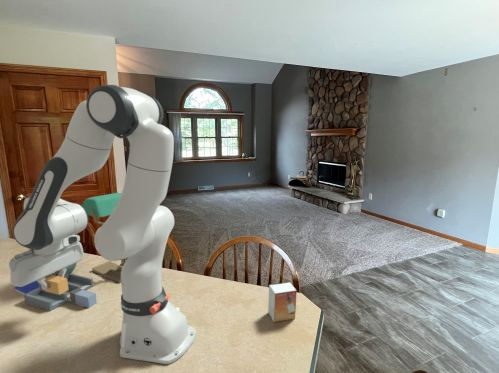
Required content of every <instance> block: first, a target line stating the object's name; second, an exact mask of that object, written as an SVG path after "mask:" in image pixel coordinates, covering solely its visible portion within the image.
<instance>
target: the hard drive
mask: <svg viewBox="0 0 499 373" xmlns="http://www.w3.org/2000/svg"><path fill="white" fill-rule="evenodd" d="M37 288H39V283H38V282H37V281H34V282H32V283H30V284H27V285H25V286H23V287H18V286H15V287H14V288H13V290H14V291H15V292H18V293H20V294H22V295H25V294H27V293H29V292H31V291H33V290H35V289H37Z"/></svg>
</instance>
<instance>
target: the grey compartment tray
mask: <svg viewBox="0 0 499 373" xmlns="http://www.w3.org/2000/svg"><path fill="white" fill-rule="evenodd" d="M64 278H67V282H68V289H69V290H67V291H65V292H64V293H62V294H60V295H58V294H54V293H50V292H46V291H42V290H40V289H39V288H37V289H35V290H33V291H31V292H29V293H27V294H25V295H24V294H23V295H24V303H25V304H27V305H30V306H34V307H36V308H40V309H43V310H46V311H49V312H52V310H55V309H56V308H58V307H60V306H61V305H63V304H64V303H65V304H66V303H67V302H69V301H71V299H70V292H71V291H73V290H75V289H77V288H79V289H82V290H86V291H89V289H91V288H93V287H94V279H93V278H92V277H91V278H90V277H87V276H82V275H79V274H74V273H72V272H71V273H68V274H65V275H64Z"/></svg>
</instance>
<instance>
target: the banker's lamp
mask: <svg viewBox="0 0 499 373" xmlns="http://www.w3.org/2000/svg"><path fill="white" fill-rule="evenodd" d="M121 193H122V192H114V193H110V194H108V193H107V194H104V195H97V196H92V197H88V198H85V199H84V201H83V203H82V204H81V206H82V207H83V208H84V209H85V210H86V212H87V214H88V216H91V217H92V219H93V222H94V223H95V225H101V226H102V225H103V224H104V223H105V222H102V221H98V218H104V217H107V216H108V217H109V216H110V215H111V213H112V212H113V210H114V208H115V206H116V204H117V202H118V200H119V198H120V196H121ZM126 261H127V258H125V259H122V260H120V264H116V263H115V262H113V261H109V260H107V261H106V262H103V263H100V264H98V265H96V266H93V267H92V272H93V273H95V274H97V275H100V276H102V277H105V278H106V279H109V280H111V281H114V282H115V283H118V284H122V283H121V270H122V267H123V265H124V264H125V262H126Z"/></svg>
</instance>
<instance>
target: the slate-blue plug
mask: <svg viewBox="0 0 499 373" xmlns="http://www.w3.org/2000/svg"><path fill="white" fill-rule="evenodd" d="M70 303H71V304H73V305H77V306H81V307H84V308H87V309H90V308H92V307H94V306H95V305H97V303H98V302H97V293H96V292H92V291H89V290H82V289H79V288H77V289H75V290H73V291H71V292H70Z"/></svg>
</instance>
